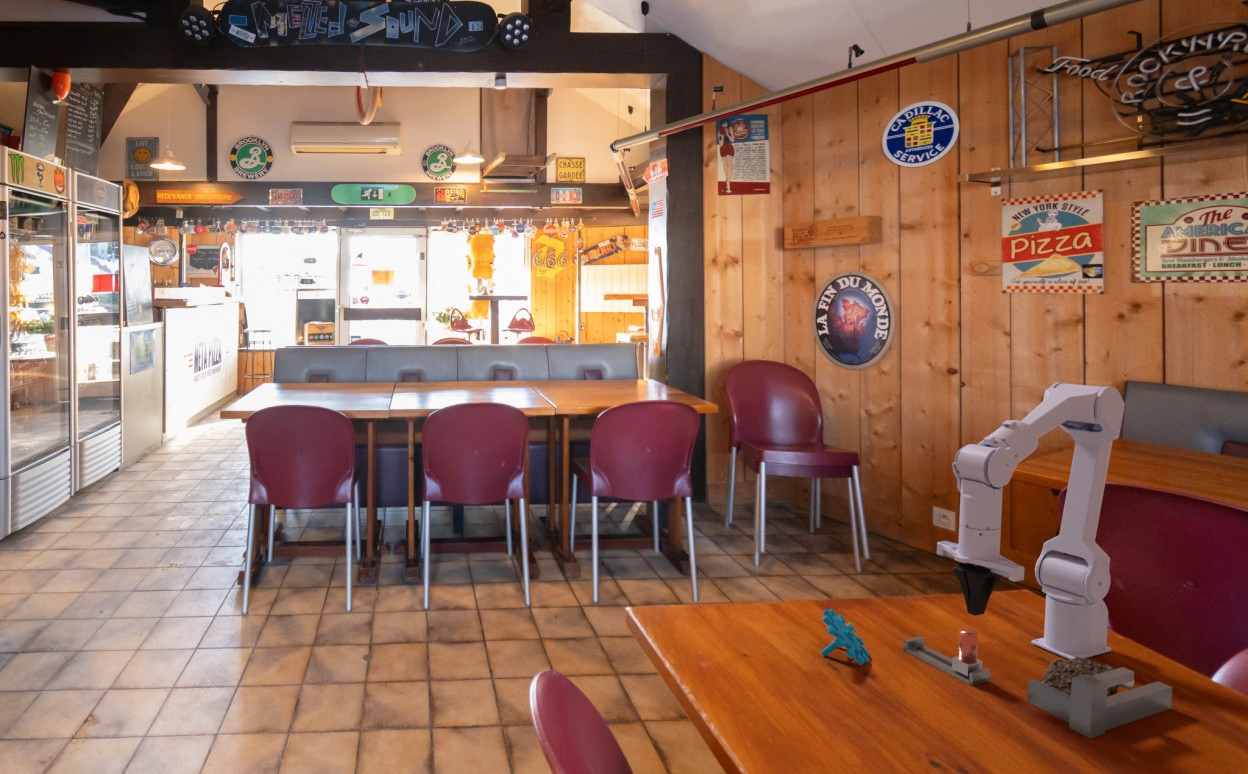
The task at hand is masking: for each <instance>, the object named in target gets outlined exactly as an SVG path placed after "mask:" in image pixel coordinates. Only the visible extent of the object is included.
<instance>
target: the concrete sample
mask: <svg viewBox="0 0 1248 774" xmlns="http://www.w3.org/2000/svg"><path fill="white" fill-rule="evenodd" d="M1114 669H1115V668H1114V667H1113V666H1109V664H1101V663H1099V662H1098V661H1092V660H1090V659H1089V658H1080V657H1076V658H1074V659H1072V660H1070V659H1060V658H1055V659H1054V660H1053V661H1051V662H1050V664H1049V666H1048V667H1047V669H1045V670H1044V674H1043V675H1042V676H1043V677H1042V681H1041V682H1042V683H1044V684H1046V685H1048V686H1050V687H1053V688H1055V689H1057V690H1059V691H1061V692H1063V693H1065V694H1068V695H1070V696H1071V685H1072V678H1074V677H1078V676H1081V675H1085V674H1088V675H1090V676H1093V675H1097V674H1100V673H1104V672H1107V671H1111V670H1114ZM1118 688H1119V686H1118V685H1116V686H1113V687H1109V688H1108V691H1107V697H1108V696H1111V695H1114V694H1118V692H1119V690H1118Z"/></svg>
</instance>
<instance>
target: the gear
mask: <svg viewBox="0 0 1248 774" xmlns="http://www.w3.org/2000/svg"><path fill="white" fill-rule="evenodd" d="M822 614H823V617H822V621H823V622H824V624H826V625H827V627H826V629H827V632H828V633H829V634H830V635H831V636H834V638H833V641H832V642H831V643H830V644H828V645H827V646H826V647H825V648H823V649H822V650H820V653H821V655H822V656H823V657H827V656H828V655H830V654H831V653H832V652H834V650H836V649H837V648H842V647H843V648H846V651H845V654H846V655H847V657H848V658H850V659H851V660H852V659H853V658H854V660H855V662H856V663H857V664H858V665H860V666H861V665H862V664H865V665H866V664H867V663H868V662H869V661H870V658H869V655H870V653H869V650H867V648H865V647H864V645H865V643H864V640H863V638H861V637H859V636H858V635H857V633H856V632H857V631H856V629H855V625H854V624H853V623H852V622H851V621H850V622H848V623H847V624H845V623H846V621H847V619H845V618H844V617H843V615H842V614H839V616H838V614H837V611H835V610H834V609H833V608H831V609H827V608H826V609H825V610H824V611H823V612H822Z"/></svg>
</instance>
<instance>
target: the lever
mask: <svg viewBox="0 0 1248 774" xmlns="http://www.w3.org/2000/svg"><path fill="white" fill-rule="evenodd" d="M958 632H959V633H958V634H959V636H958V652H957V653H958V655H957V656H952V658H951V659H952V669H954V670H956V671H958V672H960V673H962V674H964V675H966V676H969V674H970V672H974V671H978V670H982V669H983V660H981V659H978V658H977V657H978V637H979V632H978V631H977V630H975V629H972V628H965V627H963V628H959V631H958Z"/></svg>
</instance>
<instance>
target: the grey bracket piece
mask: <svg viewBox="0 0 1248 774" xmlns="http://www.w3.org/2000/svg"><path fill="white" fill-rule="evenodd" d="M1027 683H1028V684H1027V703H1028V704H1030V705H1033V706H1034V707H1037V708H1039V709H1040V710H1042V711H1044V712H1046V713H1048V714H1051V715H1053V716H1054V717H1057V718H1058V719H1060V720H1062V721H1065V722H1067V723H1068V728H1069V729H1070V730H1072V731H1074V732H1076V733H1077V734H1080V735H1081V736H1084V737H1086V738H1088V739H1094V738H1096V737H1099V736H1102V735H1105V734H1106V731H1108V730H1112V729H1115V728H1116V727H1120V726H1125V725H1126V724H1130V723H1132V722H1135V721H1138V720H1142V719H1144V718H1148V717H1151V716H1153V715H1156V714H1159V713H1162V712H1165V711H1168V710H1171V709H1172V702H1173V701H1172V700H1173V699H1172V697H1173V687H1174V686H1171V685H1168V684H1165V683H1163V682H1161V681H1155V682H1151V683H1148V684H1145V685H1141V686H1138V687H1134V686H1135V671H1133V670H1131V669H1128V668H1126V667H1118V668H1114V670H1111V671H1107V672H1104V673H1100V674H1097V675H1093V676H1090V675H1088V674H1085V675H1081V676H1078V677H1074V678H1072V685H1071V696H1070V695H1068V694H1065V693H1063V692H1061V691H1059V690H1057V689H1055V688H1053V687H1050V686H1048V685H1046V684H1044V683H1042V681H1040V680H1037V679H1035V678H1032V679H1029V680H1028V682H1027ZM1116 685H1118V688H1119V687H1120V688H1122V689H1127V690H1125V691H1122V692H1117V693H1116V694H1114V695H1111V696H1108V697H1107V691H1108V688H1109V687H1113V686H1116Z"/></svg>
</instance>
